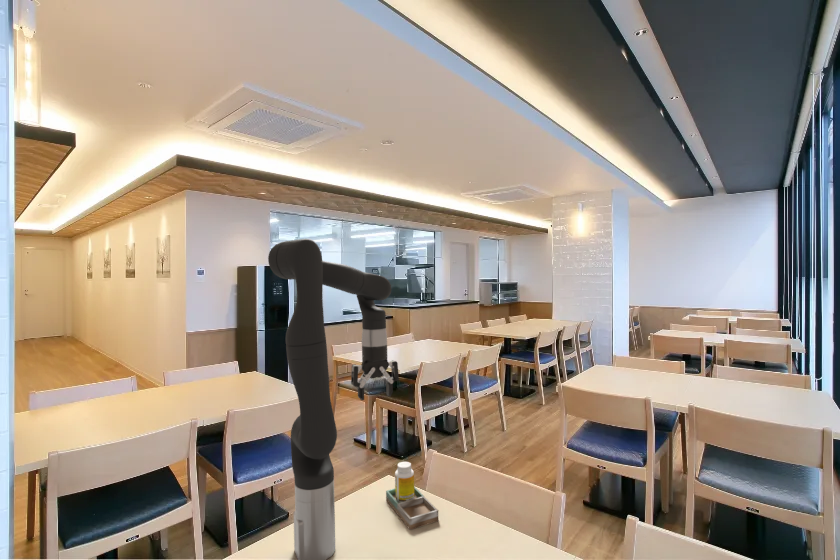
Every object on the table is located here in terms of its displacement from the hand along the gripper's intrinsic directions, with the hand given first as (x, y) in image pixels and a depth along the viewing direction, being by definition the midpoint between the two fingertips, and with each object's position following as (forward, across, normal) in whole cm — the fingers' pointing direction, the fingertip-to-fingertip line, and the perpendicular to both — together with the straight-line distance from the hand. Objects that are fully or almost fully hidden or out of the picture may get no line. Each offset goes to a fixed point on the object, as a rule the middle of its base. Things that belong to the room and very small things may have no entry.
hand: (375, 397), depth 126 cm
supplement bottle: (+29, +6, -7) cm, 30 cm away
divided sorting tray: (+30, +6, -11) cm, 33 cm away
